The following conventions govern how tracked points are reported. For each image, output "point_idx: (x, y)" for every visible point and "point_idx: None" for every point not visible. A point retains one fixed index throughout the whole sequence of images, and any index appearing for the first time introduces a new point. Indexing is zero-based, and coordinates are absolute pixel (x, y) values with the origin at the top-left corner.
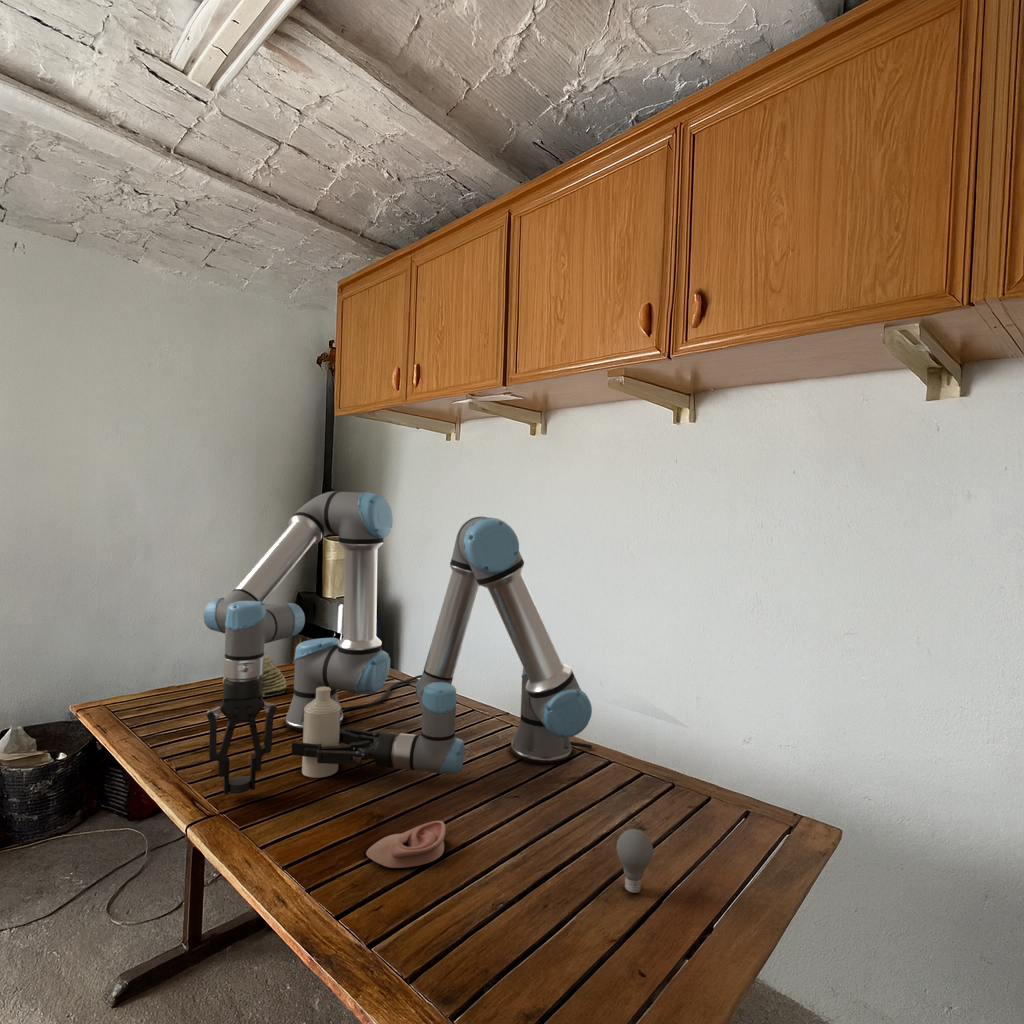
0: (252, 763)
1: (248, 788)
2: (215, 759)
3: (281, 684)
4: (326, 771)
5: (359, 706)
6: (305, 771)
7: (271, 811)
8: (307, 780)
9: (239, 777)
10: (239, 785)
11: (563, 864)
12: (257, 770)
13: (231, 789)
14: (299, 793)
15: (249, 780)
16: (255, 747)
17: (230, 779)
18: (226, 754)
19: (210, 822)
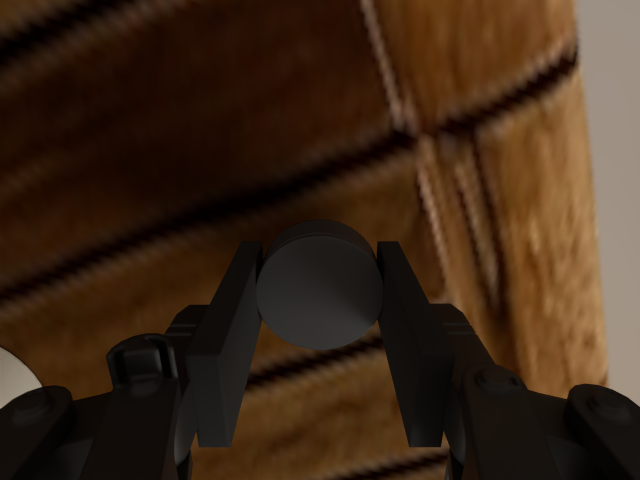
0: (225, 327)
1: (273, 243)
2: (552, 399)
3: None
4: None
5: None
6: (13, 381)
7: (167, 53)
8: (13, 324)
9: (317, 332)
10: (324, 236)
11: None
12: (204, 308)
13: (365, 244)
14: (36, 208)
15: (264, 277)
16: (150, 451)
17: (367, 324)
18: (475, 418)
19: (474, 50)
